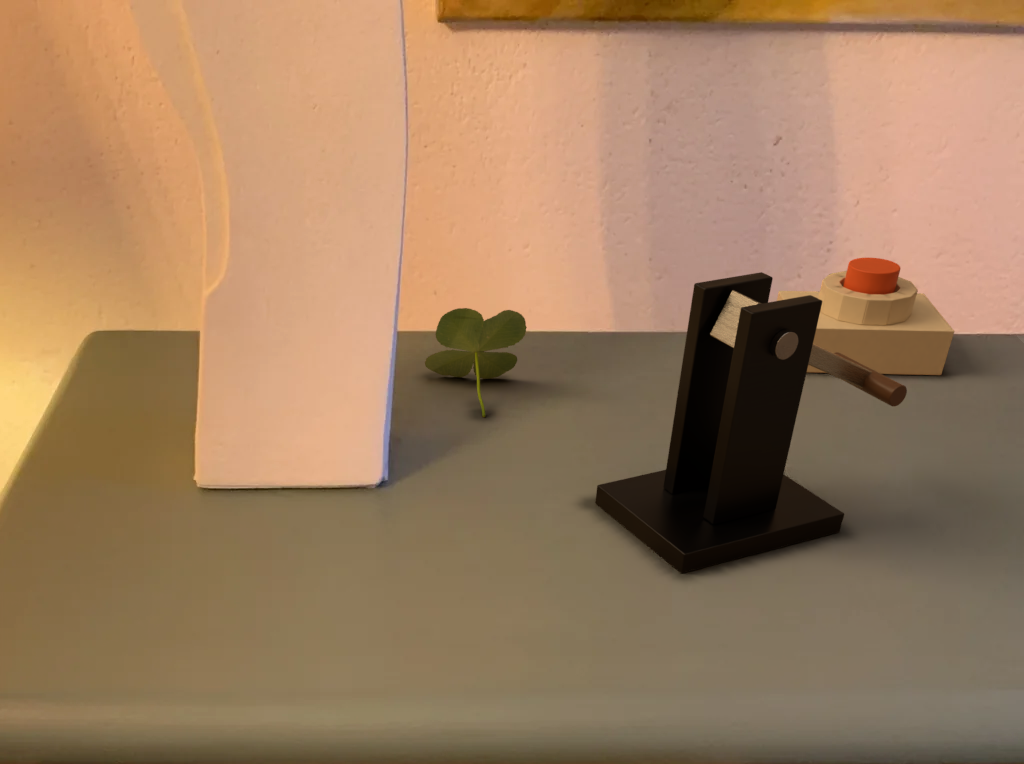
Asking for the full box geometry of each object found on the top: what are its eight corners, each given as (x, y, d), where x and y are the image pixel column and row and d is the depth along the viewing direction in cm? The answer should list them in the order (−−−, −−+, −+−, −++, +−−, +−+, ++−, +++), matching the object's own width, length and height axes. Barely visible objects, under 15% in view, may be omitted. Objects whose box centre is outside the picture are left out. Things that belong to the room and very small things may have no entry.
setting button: (887, 282, 85) (893, 257, 84) (899, 299, 83) (906, 273, 81) (838, 281, 85) (843, 256, 84) (849, 298, 83) (855, 272, 82)
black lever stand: (744, 468, 73) (787, 253, 64) (839, 532, 66) (901, 303, 58) (594, 503, 69) (619, 280, 60) (681, 573, 63) (722, 336, 54)
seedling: (469, 465, 84) (462, 388, 86) (558, 416, 79) (549, 336, 81) (401, 425, 79) (396, 344, 80) (492, 370, 74) (484, 285, 75)
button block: (912, 335, 90) (931, 268, 87) (941, 375, 84) (963, 304, 81) (770, 332, 90) (783, 265, 87) (789, 372, 84) (804, 301, 81)
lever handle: (828, 384, 69) (850, 345, 68) (892, 419, 65) (917, 378, 64) (690, 324, 62) (713, 279, 61) (753, 359, 58) (779, 312, 57)
